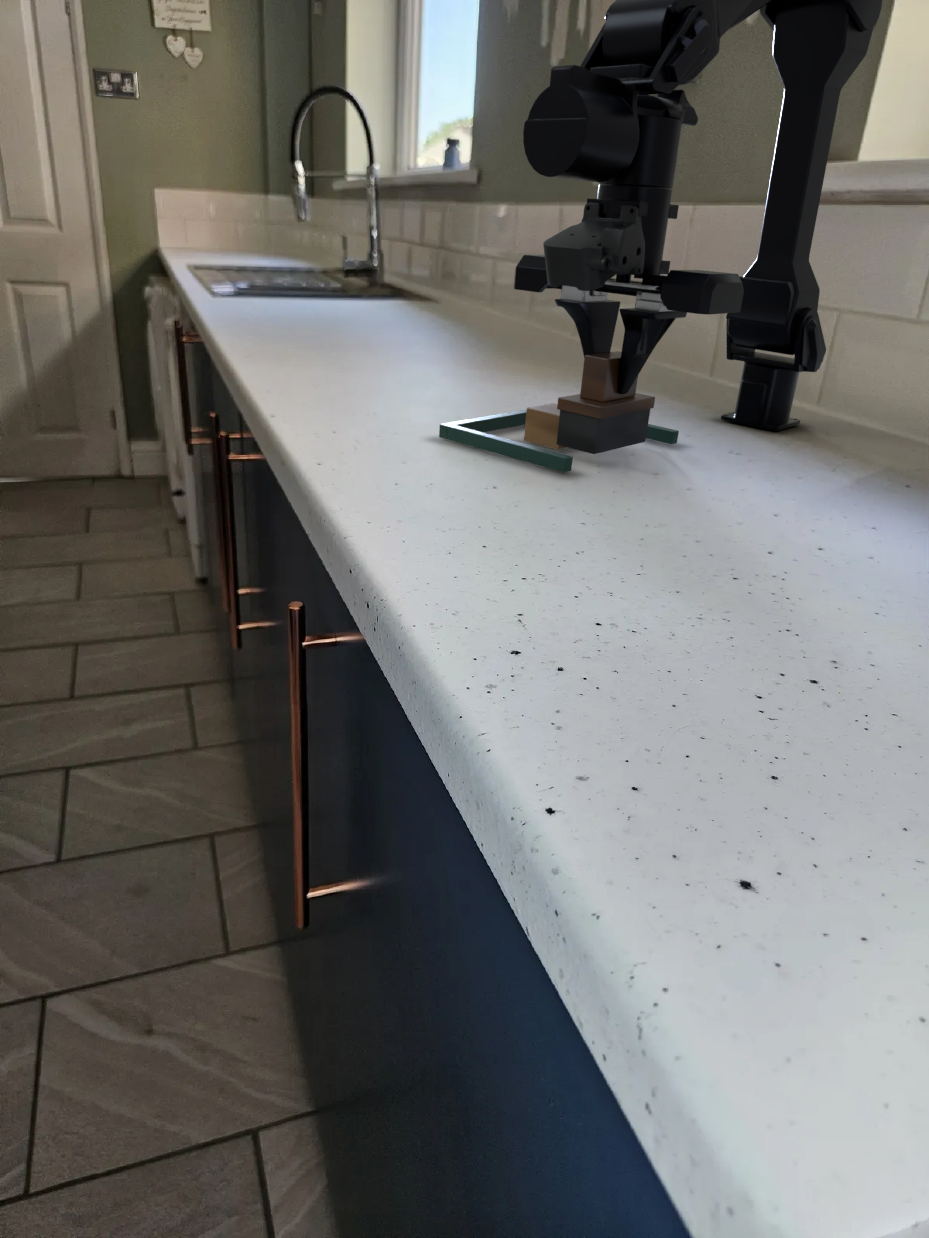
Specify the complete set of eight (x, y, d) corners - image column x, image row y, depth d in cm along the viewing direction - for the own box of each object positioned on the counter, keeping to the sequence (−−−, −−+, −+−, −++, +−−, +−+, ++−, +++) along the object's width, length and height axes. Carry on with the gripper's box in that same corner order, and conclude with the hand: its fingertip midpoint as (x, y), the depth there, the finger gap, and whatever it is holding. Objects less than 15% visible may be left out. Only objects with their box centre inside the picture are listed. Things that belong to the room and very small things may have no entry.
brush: (607, 432, 80) (618, 348, 77) (648, 442, 78) (662, 355, 75) (552, 444, 75) (562, 354, 71) (595, 455, 72) (606, 362, 69)
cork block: (549, 435, 82) (553, 403, 81) (584, 444, 79) (588, 411, 78) (523, 440, 79) (526, 407, 78) (558, 450, 77) (562, 416, 75)
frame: (558, 415, 91) (559, 403, 90) (677, 443, 82) (679, 430, 82) (438, 437, 78) (439, 424, 78) (564, 473, 70) (565, 458, 69)
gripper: (477, 176, 68) (464, 381, 74) (690, 184, 57) (653, 423, 63) (562, 186, 75) (544, 370, 82) (765, 194, 64) (725, 407, 71)
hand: (608, 391), depth 74 cm, fingers closed on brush, 2 cm apart
